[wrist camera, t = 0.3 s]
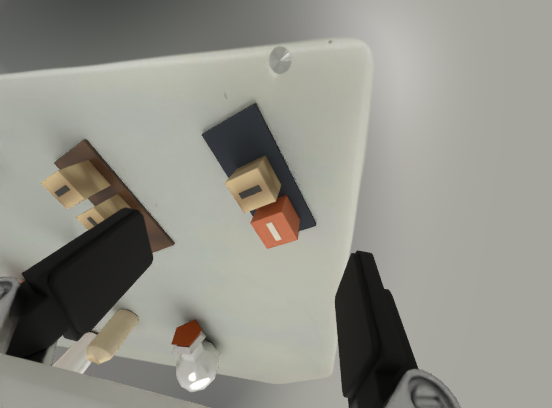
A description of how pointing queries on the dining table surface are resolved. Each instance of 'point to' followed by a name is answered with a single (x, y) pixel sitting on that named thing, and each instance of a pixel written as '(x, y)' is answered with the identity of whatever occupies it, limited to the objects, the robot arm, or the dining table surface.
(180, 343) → the potion bottle
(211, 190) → the dining table surface
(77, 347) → the cup
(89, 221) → the far letter i
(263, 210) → the orange striped cube
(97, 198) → the far board
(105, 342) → the candle
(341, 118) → the dining table surface
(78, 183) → the tan wooden block
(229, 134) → the near mat
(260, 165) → the tan block
